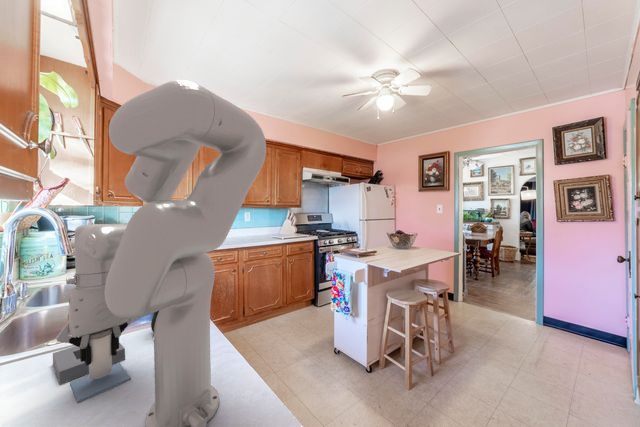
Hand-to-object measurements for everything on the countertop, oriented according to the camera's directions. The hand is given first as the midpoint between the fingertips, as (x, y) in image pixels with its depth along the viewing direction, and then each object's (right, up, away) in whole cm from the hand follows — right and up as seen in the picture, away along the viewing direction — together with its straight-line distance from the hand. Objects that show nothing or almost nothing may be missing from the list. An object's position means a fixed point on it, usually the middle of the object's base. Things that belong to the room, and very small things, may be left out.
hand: (100, 357), depth 58 cm
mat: (0, -6, 0) cm, 6 cm away
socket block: (-9, -6, +8) cm, 13 cm away
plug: (0, -4, 0) cm, 4 cm away
